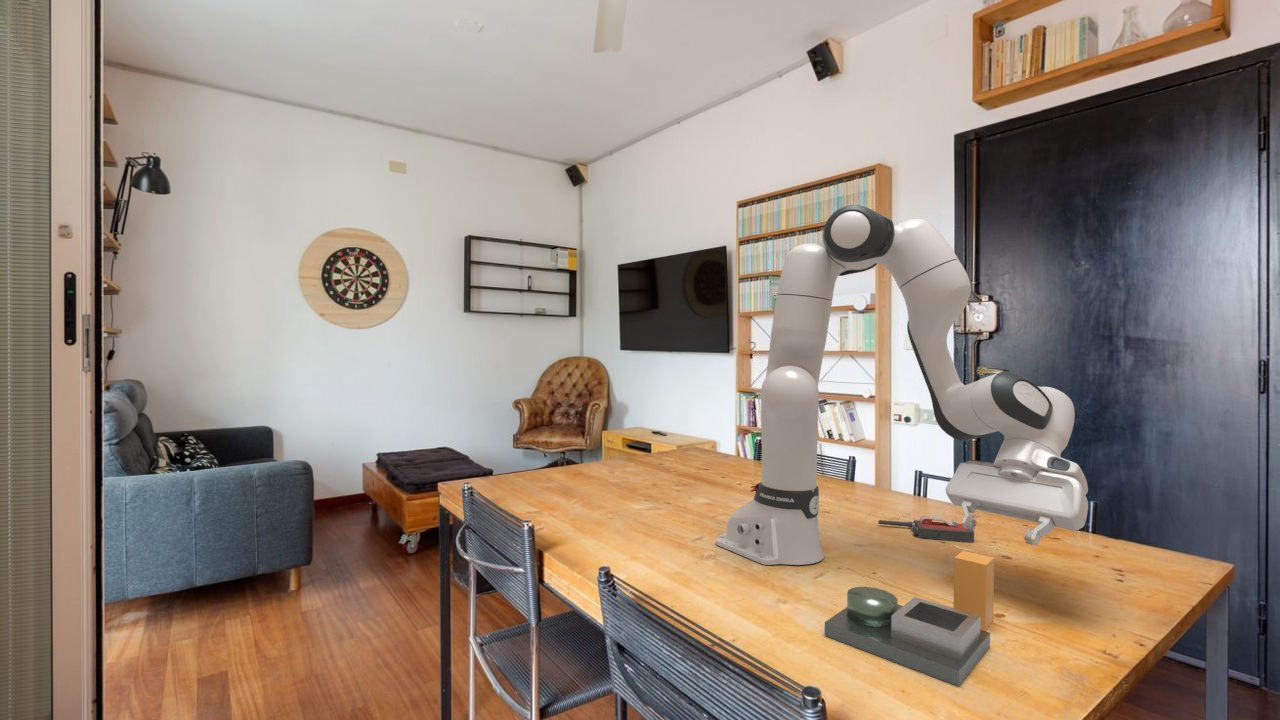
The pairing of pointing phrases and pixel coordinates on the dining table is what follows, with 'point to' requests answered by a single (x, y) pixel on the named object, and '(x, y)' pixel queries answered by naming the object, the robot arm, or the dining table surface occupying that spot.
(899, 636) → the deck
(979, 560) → the tall orange prism
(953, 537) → the walkie-talkie
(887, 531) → the dining table surface
